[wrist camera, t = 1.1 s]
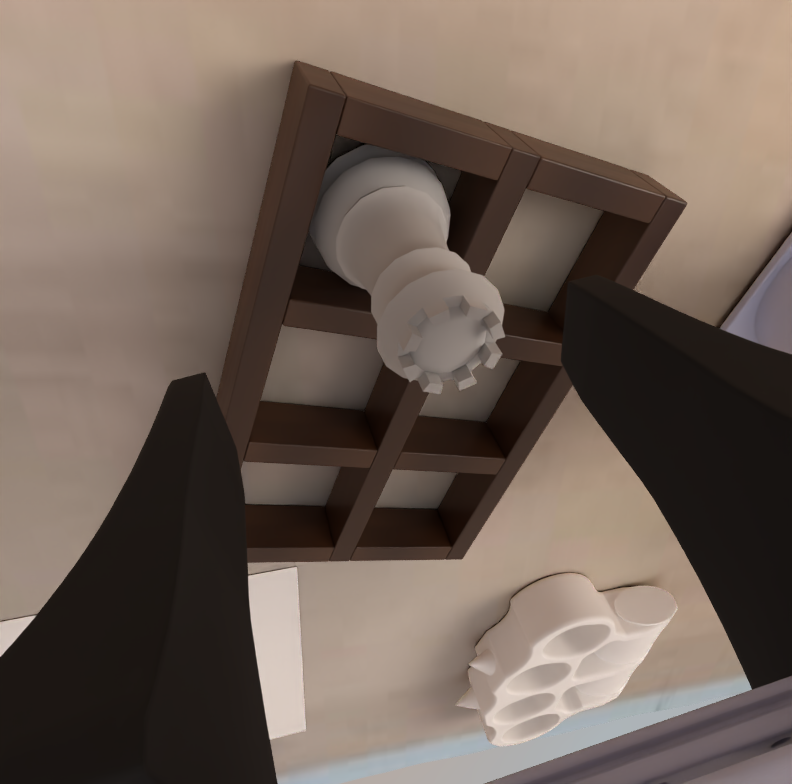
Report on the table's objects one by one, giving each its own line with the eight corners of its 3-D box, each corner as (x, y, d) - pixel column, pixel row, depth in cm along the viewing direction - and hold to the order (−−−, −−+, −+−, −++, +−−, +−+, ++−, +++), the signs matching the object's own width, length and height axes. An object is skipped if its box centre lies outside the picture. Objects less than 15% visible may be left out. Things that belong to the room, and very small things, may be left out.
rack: (648, 175, 22) (689, 203, 21) (446, 522, 33) (462, 560, 31) (294, 59, 17) (309, 83, 15) (188, 518, 27) (189, 563, 26)
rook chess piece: (389, 287, 22) (465, 442, 17) (278, 233, 20) (323, 392, 14) (464, 181, 21) (580, 313, 15) (353, 107, 18) (439, 231, 12)
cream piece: (233, 696, 39) (238, 767, 36) (93, 728, 37) (87, 806, 34) (217, 620, 33) (222, 697, 30) (51, 654, 31) (39, 739, 28)
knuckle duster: (598, 677, 53) (436, 717, 50) (677, 549, 42) (473, 589, 38) (619, 717, 51) (450, 763, 47) (709, 593, 39) (494, 640, 36)
